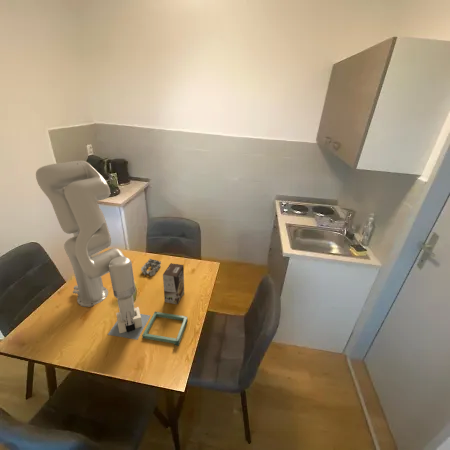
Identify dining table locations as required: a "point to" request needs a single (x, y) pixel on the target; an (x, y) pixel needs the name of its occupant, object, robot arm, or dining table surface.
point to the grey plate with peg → (131, 334)
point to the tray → (162, 338)
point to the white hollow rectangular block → (136, 320)
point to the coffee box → (173, 283)
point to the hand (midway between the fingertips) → (129, 323)
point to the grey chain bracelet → (153, 264)
